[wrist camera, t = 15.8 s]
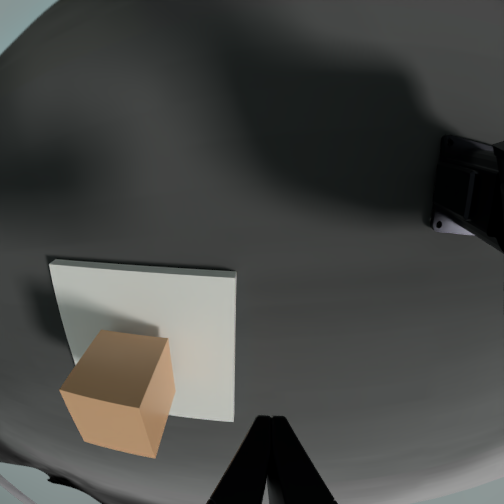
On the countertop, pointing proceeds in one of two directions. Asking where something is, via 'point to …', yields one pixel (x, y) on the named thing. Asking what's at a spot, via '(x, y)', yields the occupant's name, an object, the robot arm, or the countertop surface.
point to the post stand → (159, 323)
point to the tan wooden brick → (122, 392)
